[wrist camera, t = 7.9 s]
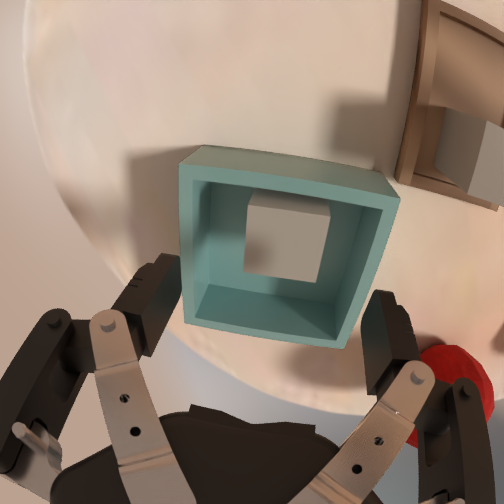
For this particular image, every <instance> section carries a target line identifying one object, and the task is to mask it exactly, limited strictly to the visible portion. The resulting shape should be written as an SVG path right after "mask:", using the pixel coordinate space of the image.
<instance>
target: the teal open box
mask: <svg viewBox="0 0 504 504" xmlns="http://www.w3.org/2000/svg"><path fill="white" fill-rule="evenodd" d="M255 187H256V188H263V189H270V190H276V191H283V192H289V193H296V194H302V195H308V196H314V197H319V198H325V199H328V205H329V210H330V216H331V218H330V222H329V227H328V232H327V236H326V241H325V245H324V250H323V254H322V258H321V262H320V267H319V271H318V275H317V279H316V283H314V282H306V281H299V280H292V279H285V278H278V277H272V276H265V275H258V274H251V273H245V272H243V265H244V251H245V237H246V224H247V210H248V204H249V201H250V199H251V196H252V194H253V191H254V189H255ZM400 200H401V199H400V197H399V196H398V194H397V193H396V192H395V190H394V189H393V187H392V186H391V185H390V183H389V182H388V181H387V179H386V178H385V177H384V175H383V174H382V173H381V172H377V171H372V170H368V169H363V168H358V167H354V166H349V165H344V164H339V163H333V162H328V161H323V160H317V159H311V158H305V157H299V156H293V155H286V154H280V153H273V152H265V151H258V150H250V149H241V148H232V147H223V146H212V145H203V146H201V147H200V148H199V149H197V150H196V151H195V152H193V153H192V154H191V155H189V156H188V157H187V158H185V159H184V160H183V161H182V162H180V163H179V235H180V260H181V279H182V296H183V310H184V323H187V324H191V325H196V326H201V327H206V328H211V329H216V330H221V331H226V332H231V333H237V334H242V335H248V336H254V337H260V338H266V339H272V340H278V341H285V342H291V343H298V344H306V345H313V346H321V347H329V348H337V349H344V347H345V345H346V343H347V341H348V339H349V337H350V334H351V332H352V330H353V328H354V325H355V323H356V321H357V318H358V316H359V314H360V311H361V309H362V307H363V304H364V302H365V299H366V297H367V294H368V292H369V289H370V287H371V284H372V282H373V279H374V277H375V274H376V271H377V269H378V266H379V263H380V261H381V258H382V255H383V252H384V249H385V246H386V244H387V241H388V238H389V235H390V232H391V229H392V226H393V223H394V219H395V216H396V213H397V210H398V206H399V203H400Z"/></svg>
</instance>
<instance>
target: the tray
mask: <svg viewBox="0 0 504 504" xmlns="http://www.w3.org/2000/svg"><path fill="white" fill-rule="evenodd" d="M446 107H447V108H451V109H454V110H457V111H460V112H463V113H467V114H470V115H473V116H476V117H478V118H481V119H484V120H487V121H489V122H491V123H493V124H495V125H497V126H499V127H501V128H503V129H504V33H503V32H502V31H500V30H498V29H497V28H495V27H493V26H492V25H490V24H488V23H486V22H484V21H483V20H481V19H479V18H477V17H475V16H473V15H471V14H469V13H467V12H465V11H463V10H461V9H459V8H457V7H455V6H453V5H450V4H448V3H446V2H444V1H441V0H422V6H421V20H420V32H419V42H418V51H417V59H416V66H415V73H414V80H413V86H412V92H411V98H410V104H409V109H408V115H407V120H406V125H405V129H404V134H403V139H402V143H401V148H400V152H399V156H398V160H397V165H396V169H395V173H394V176H393V177H394V178H395V179H396V181H397V182H398V183H400V184H405V185H409V186H412V187H416V188H420V189H424V190H428V191H431V192H435V193H439V194H442V195H446V196H449V197H453V198H456V199H459V200H463V201H466V202H469V203H472V204H475V205H479V206H482V207H485V208H488V209H491V210H494V211H497V210H498V207H499V205H497V204H494V203H492V202H489V201H486V200H483V199H480V198H477V197H474V196H471V195H468V194H466V193H465V192H464V191H463V190H462V189H461V188H459V187H458V186H457V185H456V184H455V183H454V182H452V181H451V180H450V179H449V178H448V177H447V176H445V175H444V174H443V173H442V172H440V171H439V170H438V169H437V168H435V167H434V166H433V162H434V158H435V154H436V150H437V146H438V142H439V137H440V133H441V129H442V124H443V119H444V114H445V109H446Z"/></svg>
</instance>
